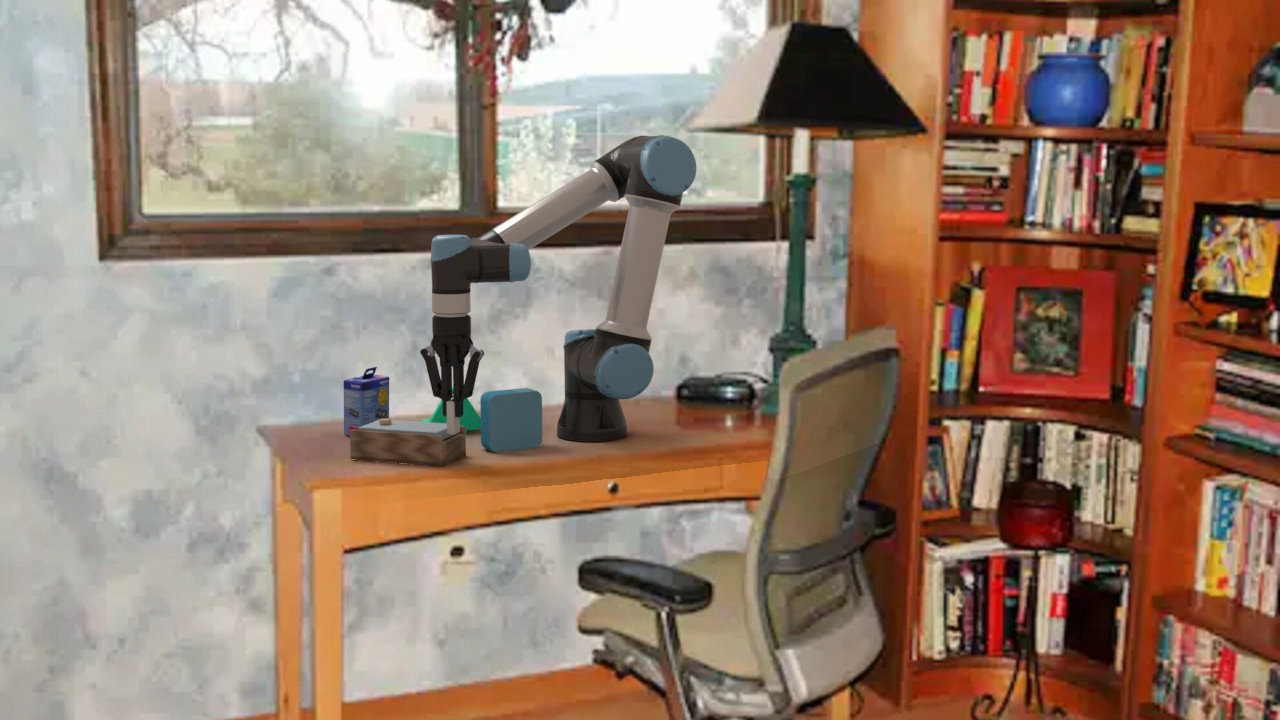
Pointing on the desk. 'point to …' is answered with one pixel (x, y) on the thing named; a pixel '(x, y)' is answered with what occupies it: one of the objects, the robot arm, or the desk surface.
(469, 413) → the camera mount
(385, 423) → the cover plate
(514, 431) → the data package
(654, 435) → the desk surface
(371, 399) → the ink cartridge box
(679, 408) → the desk surface
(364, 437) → the pencil box
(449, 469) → the desk surface
